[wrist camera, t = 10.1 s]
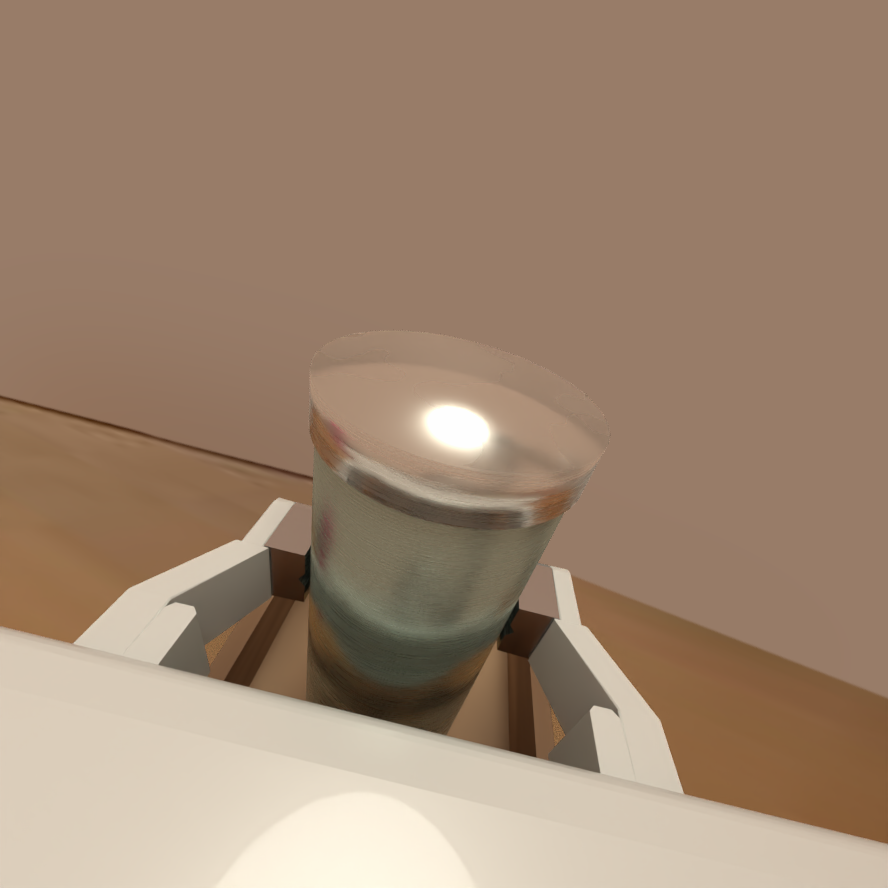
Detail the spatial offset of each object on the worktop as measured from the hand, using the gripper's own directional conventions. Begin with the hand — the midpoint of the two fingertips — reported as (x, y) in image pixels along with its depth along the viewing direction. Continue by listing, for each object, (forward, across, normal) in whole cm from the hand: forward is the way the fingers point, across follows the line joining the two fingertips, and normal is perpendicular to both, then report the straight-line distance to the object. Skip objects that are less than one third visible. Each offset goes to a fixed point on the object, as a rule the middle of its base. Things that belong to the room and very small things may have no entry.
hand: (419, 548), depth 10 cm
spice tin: (-1, 0, +8) cm, 8 cm away
